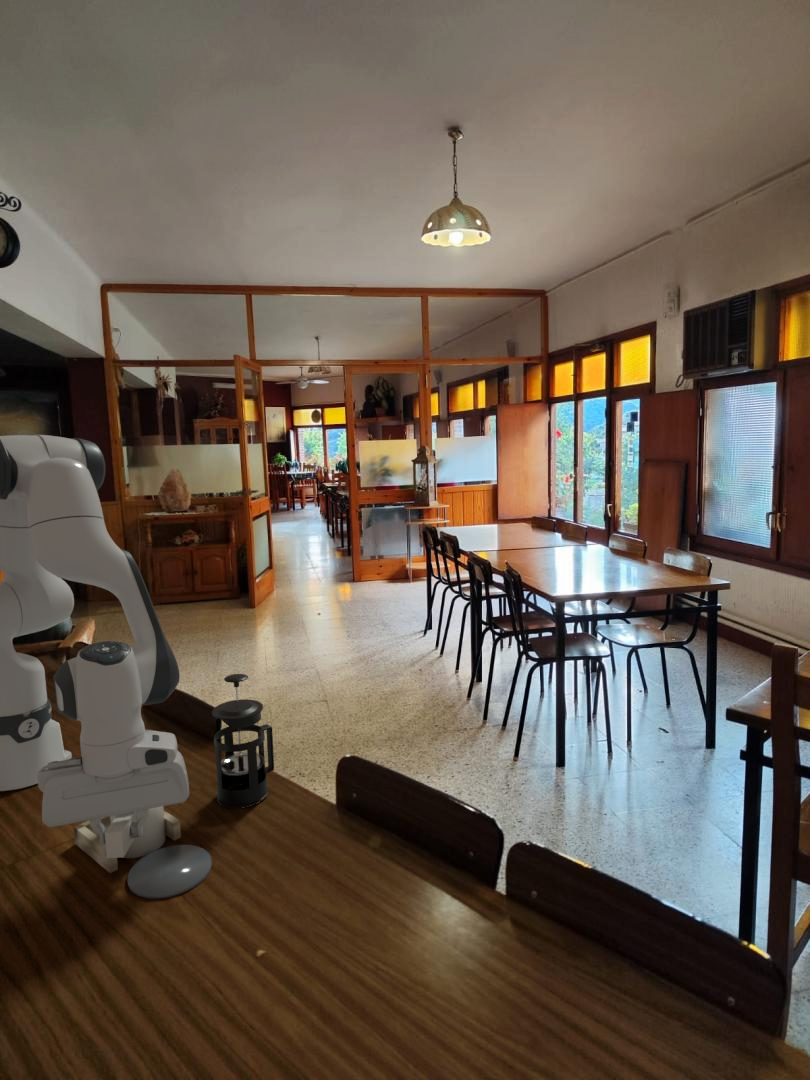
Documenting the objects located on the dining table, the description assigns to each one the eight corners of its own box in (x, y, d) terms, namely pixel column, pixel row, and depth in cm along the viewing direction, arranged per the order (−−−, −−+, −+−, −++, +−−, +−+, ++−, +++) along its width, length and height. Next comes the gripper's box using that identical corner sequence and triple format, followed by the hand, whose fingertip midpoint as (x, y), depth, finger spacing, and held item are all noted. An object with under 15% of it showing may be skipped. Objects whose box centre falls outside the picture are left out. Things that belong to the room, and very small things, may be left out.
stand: (75, 844, 108) (73, 826, 107) (144, 812, 117) (142, 796, 116) (110, 873, 100) (108, 854, 100) (181, 837, 109) (179, 820, 109)
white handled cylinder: (122, 830, 111) (117, 774, 110) (173, 827, 112) (169, 771, 111) (88, 884, 97) (82, 821, 96) (146, 881, 98) (141, 817, 97)
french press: (228, 816, 115) (220, 690, 112) (204, 796, 122) (196, 677, 119) (286, 792, 123) (280, 673, 120) (260, 774, 130) (254, 662, 127)
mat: (112, 875, 99) (112, 872, 99) (184, 839, 108) (184, 836, 108) (154, 910, 92) (153, 906, 92) (227, 868, 101) (227, 864, 101)
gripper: (31, 774, 92) (41, 866, 94) (185, 748, 98) (192, 835, 100) (40, 755, 98) (49, 842, 99) (185, 732, 104) (191, 814, 106)
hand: (122, 838), depth 100 cm, fingers closed on white handled cylinder, 3 cm apart
